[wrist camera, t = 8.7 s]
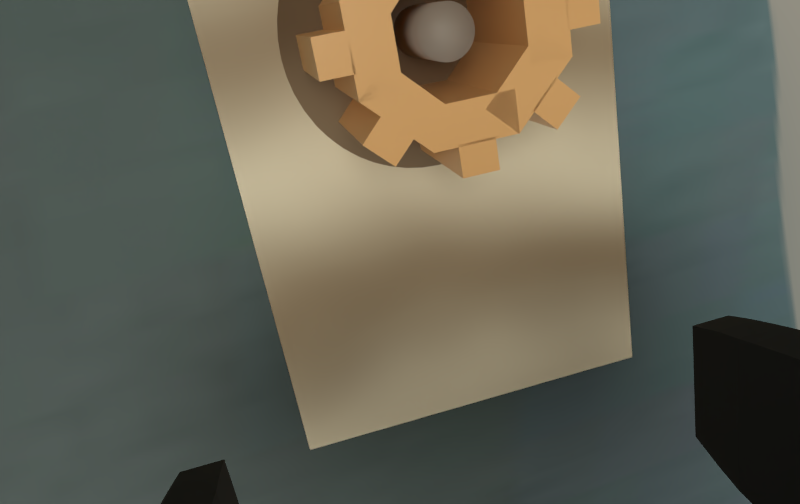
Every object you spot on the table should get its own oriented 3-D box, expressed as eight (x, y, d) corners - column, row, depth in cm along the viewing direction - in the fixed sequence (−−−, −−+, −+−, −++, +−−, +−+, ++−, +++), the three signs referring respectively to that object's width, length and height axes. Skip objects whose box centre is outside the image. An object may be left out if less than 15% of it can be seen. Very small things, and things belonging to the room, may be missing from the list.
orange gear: (573, -3, 17) (653, -9, 13) (443, 190, 17) (489, 227, 14) (385, -163, 15) (427, -217, 11) (249, 63, 15) (251, 72, 12)
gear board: (615, 342, 21) (749, 455, 16) (307, 430, 20) (333, 589, 14) (555, -474, 14) (758, -796, 9) (72, -432, 13) (-57, -786, 7)
